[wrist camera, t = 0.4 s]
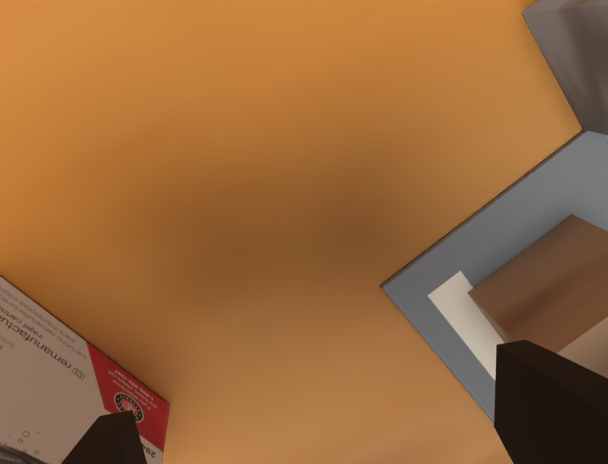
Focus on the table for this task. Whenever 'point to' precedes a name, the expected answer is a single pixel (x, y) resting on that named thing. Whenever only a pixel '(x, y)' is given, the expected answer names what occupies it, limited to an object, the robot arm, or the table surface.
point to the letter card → (496, 258)
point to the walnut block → (554, 294)
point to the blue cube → (576, 54)
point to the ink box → (61, 388)
